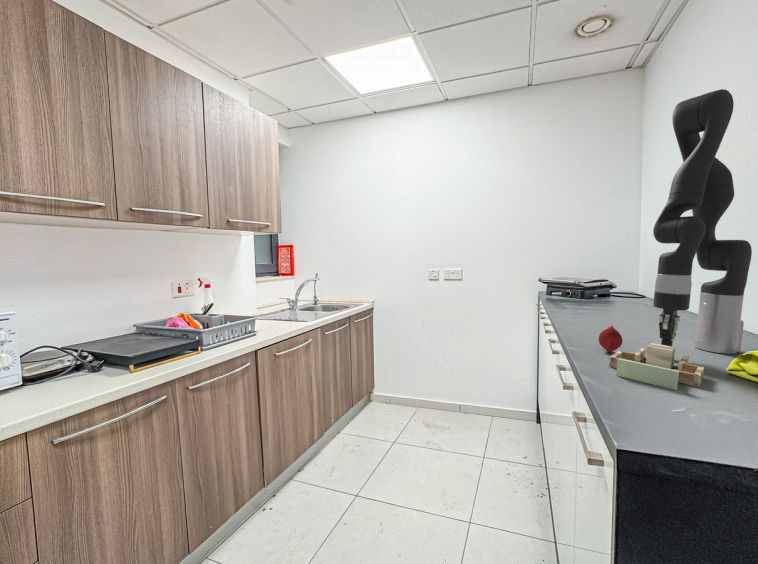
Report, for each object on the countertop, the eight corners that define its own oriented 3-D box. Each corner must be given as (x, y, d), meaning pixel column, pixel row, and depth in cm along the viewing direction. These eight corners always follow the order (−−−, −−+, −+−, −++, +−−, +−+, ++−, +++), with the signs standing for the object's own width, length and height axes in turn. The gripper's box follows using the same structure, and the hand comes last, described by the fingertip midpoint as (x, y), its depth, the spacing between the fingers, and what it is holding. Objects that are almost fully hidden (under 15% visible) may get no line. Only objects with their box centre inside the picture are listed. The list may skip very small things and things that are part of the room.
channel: (625, 353, 99) (626, 345, 99) (706, 369, 87) (707, 359, 87) (602, 371, 85) (603, 361, 84) (696, 393, 72) (697, 381, 72)
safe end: (617, 374, 82) (618, 358, 82) (677, 388, 74) (679, 370, 74) (616, 375, 82) (617, 359, 81) (676, 389, 74) (678, 371, 73)
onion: (625, 355, 97) (627, 328, 97) (602, 354, 98) (604, 326, 98) (615, 350, 103) (617, 323, 102) (594, 348, 104) (596, 322, 103)
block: (649, 361, 93) (651, 343, 93) (673, 365, 90) (675, 347, 89) (645, 365, 90) (647, 346, 90) (670, 370, 86) (672, 350, 86)
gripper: (687, 294, 87) (680, 361, 88) (693, 290, 95) (687, 351, 97) (649, 291, 92) (643, 354, 94) (659, 288, 101) (653, 345, 103)
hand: (665, 353), depth 95 cm, fingers closed
